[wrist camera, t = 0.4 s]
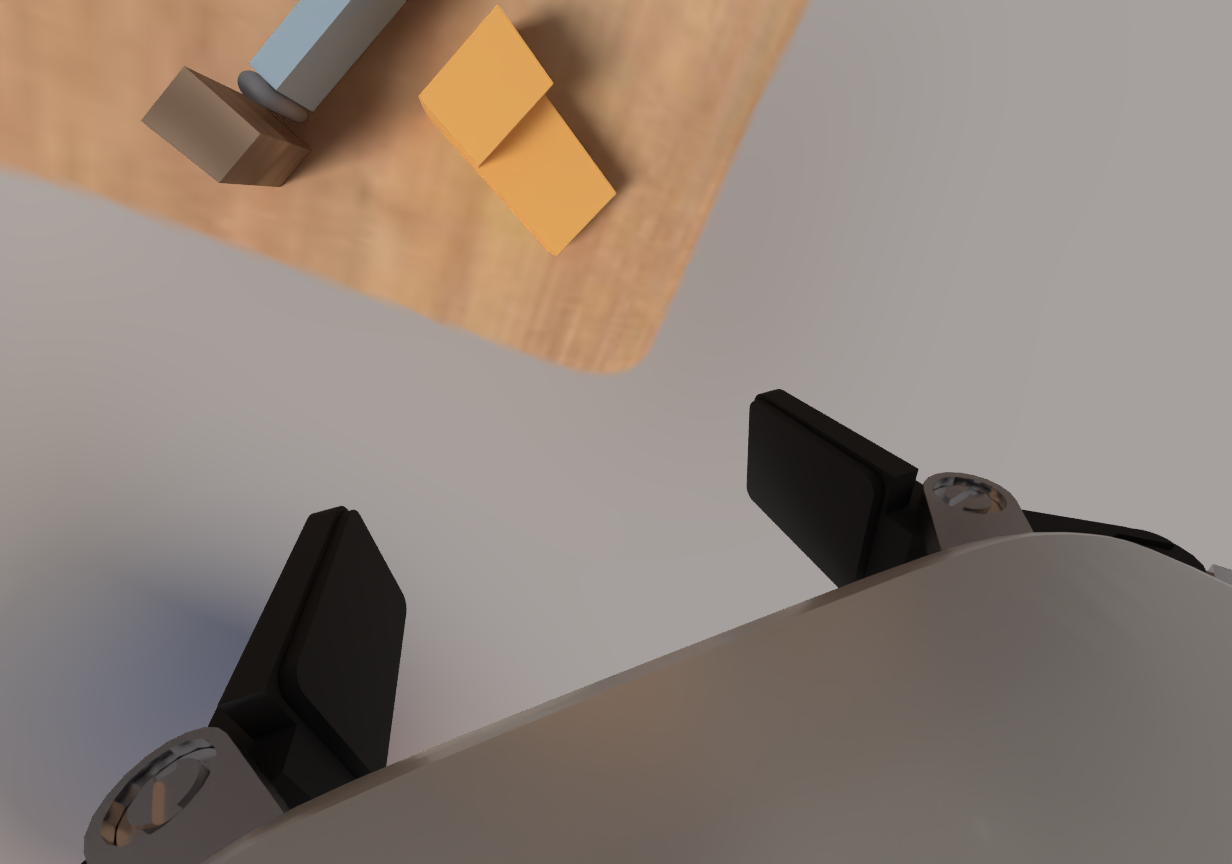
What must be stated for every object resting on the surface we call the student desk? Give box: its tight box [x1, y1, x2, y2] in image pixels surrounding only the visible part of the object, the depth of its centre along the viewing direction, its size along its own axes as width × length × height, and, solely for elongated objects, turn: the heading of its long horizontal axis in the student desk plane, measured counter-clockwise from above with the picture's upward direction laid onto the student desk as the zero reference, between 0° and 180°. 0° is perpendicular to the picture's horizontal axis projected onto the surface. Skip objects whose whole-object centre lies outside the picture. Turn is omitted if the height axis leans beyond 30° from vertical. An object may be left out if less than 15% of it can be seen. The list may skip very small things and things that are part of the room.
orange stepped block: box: [418, 4, 616, 256], centre depth 28 cm, size 11×6×6 cm, turn 41°
